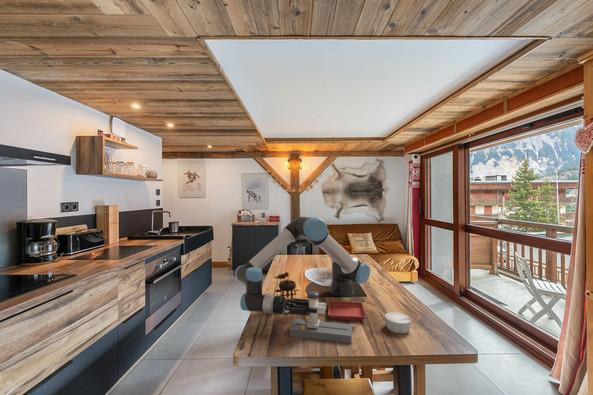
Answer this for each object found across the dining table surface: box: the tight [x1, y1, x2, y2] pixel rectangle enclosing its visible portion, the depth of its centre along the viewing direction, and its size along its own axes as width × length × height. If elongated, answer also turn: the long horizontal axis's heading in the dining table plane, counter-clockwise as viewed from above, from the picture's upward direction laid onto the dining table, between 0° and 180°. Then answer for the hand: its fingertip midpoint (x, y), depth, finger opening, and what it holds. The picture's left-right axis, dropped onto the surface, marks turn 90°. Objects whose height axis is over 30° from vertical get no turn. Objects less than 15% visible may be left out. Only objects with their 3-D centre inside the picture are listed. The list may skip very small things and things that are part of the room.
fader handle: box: [306, 290, 321, 329], centre depth 112 cm, size 5×6×14 cm
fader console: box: [289, 316, 353, 344], centre depth 111 cm, size 26×10×4 cm, turn 77°
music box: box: [273, 271, 300, 313], centre depth 140 cm, size 15×11×20 cm
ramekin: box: [384, 311, 412, 335], centre depth 116 cm, size 11×11×5 cm
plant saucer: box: [327, 300, 367, 322], centre depth 132 cm, size 18×18×3 cm
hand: (325, 308), depth 111 cm, fingers open, 4 cm apart
